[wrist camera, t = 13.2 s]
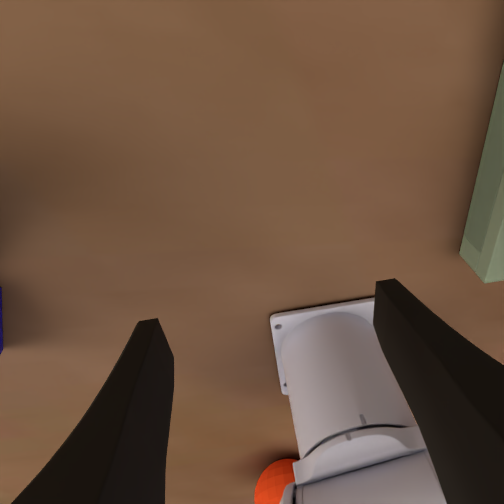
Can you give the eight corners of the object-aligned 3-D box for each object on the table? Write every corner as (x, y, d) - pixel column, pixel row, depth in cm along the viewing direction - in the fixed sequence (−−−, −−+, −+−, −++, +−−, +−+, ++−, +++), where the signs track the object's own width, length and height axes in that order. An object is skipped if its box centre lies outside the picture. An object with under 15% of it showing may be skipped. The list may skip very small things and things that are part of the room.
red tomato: (310, 479, 44) (325, 556, 38) (248, 484, 43) (255, 563, 38) (321, 443, 39) (341, 524, 34) (253, 447, 39) (261, 531, 33)
